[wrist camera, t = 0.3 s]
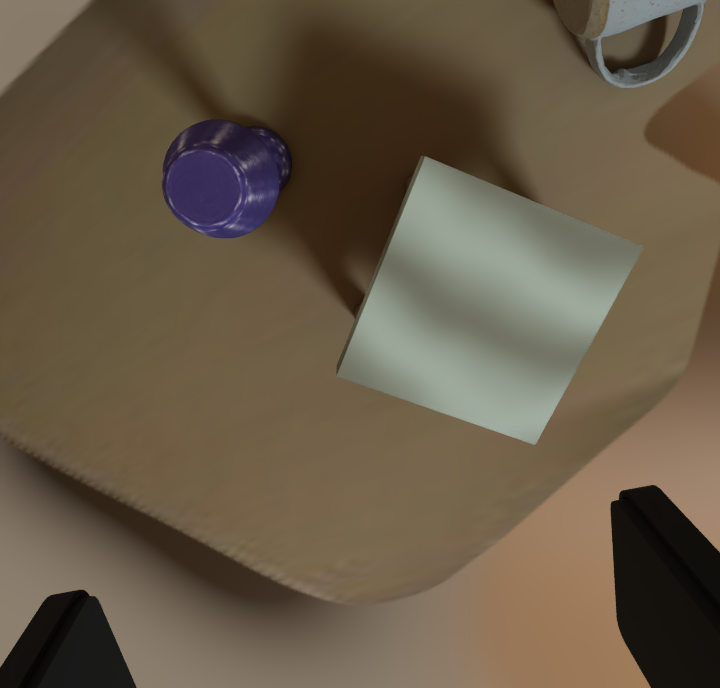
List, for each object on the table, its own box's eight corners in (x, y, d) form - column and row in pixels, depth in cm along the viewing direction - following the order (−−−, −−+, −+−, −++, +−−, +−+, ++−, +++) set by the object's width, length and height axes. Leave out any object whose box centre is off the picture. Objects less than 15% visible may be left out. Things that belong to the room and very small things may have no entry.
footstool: (405, 152, 35) (425, 156, 27) (574, 222, 37) (643, 247, 29) (337, 325, 39) (336, 376, 31) (495, 381, 41) (535, 445, 32)
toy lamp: (302, 130, 35) (270, 121, 19) (298, 208, 36) (265, 259, 21) (223, 123, 35) (124, 107, 19) (222, 202, 36) (130, 248, 20)
